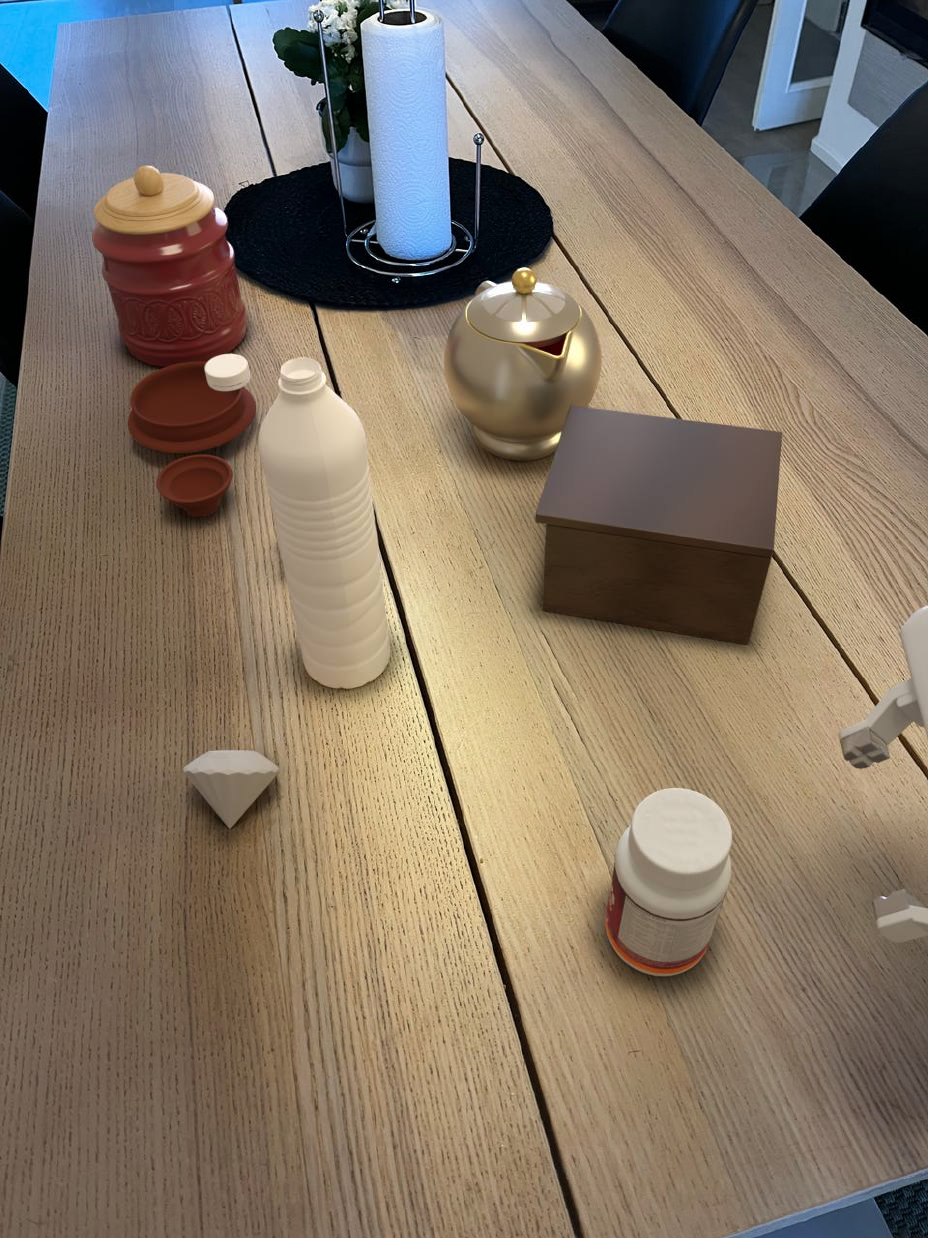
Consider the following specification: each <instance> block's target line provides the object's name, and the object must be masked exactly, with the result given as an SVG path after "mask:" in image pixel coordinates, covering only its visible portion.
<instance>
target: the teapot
mask: <svg viewBox="0 0 928 1238" xmlns="http://www.w3.org/2000/svg"><path fill="white" fill-rule="evenodd" d="M537 279H538V277H537V275H536V273H535V272H534V271H533V270H532V269H530V268H528V267H521V268H517V270H515V271H514V273H513V274H512V276H511V280H509V281H504V282H501V283H495V282H493V281H490V280H485V281H483V282H481V283H480V285H478V287H477V288H476V290H475V292H474V297H473V298H472V299H471V300H470V301H469V302H467V304H466V305H465V306H464V307H463V308H462V310H461V311H460V312H459V314H458V315H457V317H456V319H455V320H454V322H453V323H452V326H451V327H450V330H449V332H448V335H447V339H446V342H445V347H444V348H445V349H444V354H443V370H444V377H445V382H446V386H447V389H448V391H449V395H450V397H451V398H452V401H453V402H454V404H455V406H456V407H457V410H459V412H460V413H461V414H462V415H463V417H464V418H465V419H466V420H467V421H468V422H469V423H470V424H472V432H473V436H474V438H475V440H476V442H477V443H478V444H479V446H480V447H481V448H482V449H483V450H485V451H486V452H488V453H489V454H491V455H493V456H495V457H498V458H500V459H504V460H509V461H515V462H516V461H517V462H518V461H519V462H522V461H523V462H524V461H525V462H526V461H534V460H539V459H543V458H545V457H548V456H549V455H552V454H554V453H555V451H556V448H557V445H558V442H559V439H560V435H561V432H562V429H563V426H564V423H565V420H566V416H567V413H568V410H569V407H570V405H573V406H581V407H589V405H590V403H591V401H592V400H593V398H594V397H595V393H596V391H597V390H598V386H599V381H600V378H601V373H602V366H603V365H602V363H603V361H602V360H603V359H602V356H603V355H602V346H601V341H600V338H599V333H598V331H597V329H596V327H595V324H594V323H593V320H592V318H591V317H590V315H589V314H588V312H587V311H586V310H585V308H584V307H583V306H582V305H581V304H580V303H579V301H578V300H576V299H575V298H574V297H573V296H572V295H570V294H569V293H567V292H566V291H564V290H563V289H561V288H560V287H558V286H556V285H555V286H554V285H553V284H551V283H550V284H549V283H547V282H544V281H539V280H537Z"/></svg>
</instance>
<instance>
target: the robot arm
mask: <svg viewBox="0 0 928 1238" xmlns="http://www.w3.org/2000/svg"><path fill="white" fill-rule="evenodd" d="M899 638H900V641H901V646H902V648H903V652H904V656H905V661H906V664H907V667H908V672H909V675H910V678H908V679H907V680H905V681H901V682H900V683H898V684H895V685H893V686H891V687H890V689H888V691H887V692H886V693H885V694H884V695H883V697H882V698H881V699H880V700H879V701H878V702H877V704H876V705H875V706H874V707H873V708H872V709H871V711H870V712H869V713H868V714H867V716H866V719H863V720H860V721H858V722H856V723H854V724H852V725H849V726H846V727H845V728H842V729H841V730H839V732H838V739H839V743H840V747H841V751H842V756H843V759H844V761H846V762H849V763H850V765H851V767H853V768H854V769H860V770H862V769H867V768H870V767H871V766H872V765H873V764H874V763H876V764H879V763H882V762H885V761H887V760H890V759H891V756H890V751H889V747H888V746H889V745H890V744H891V743H892V742H893V741H894V740H895V739H897V738H898V736H900V735H901V734H902V733H903V732H904V731H905V730H906V729H908V727H909V726H910V725H911V724H913V722H914V723H915V724H916V725H917V726H918V727H920V728H923V727H924V731H925V734H926V737H927V739H928V604H926V605H925V606H922V607H921V608H918V609H917V610H915V611H913V613H912V614H911V615H910V616H909V617H908V619H907V620H906V621H905V623H904V624H903V625H902V627H901V628H900V630H899ZM871 902H872V903H871V904H872V909H873V914H874V918H875V925H876V930H877V933H878V934H879V935H880V936H882V937H883V938H884V939H886V940H887V941H889V942H890V943H897V944H899V943H905V942H909V941H912V940H917V939H920V938H924V937H927V936H928V908H926V907H927V906H926V904H925V903H924V902H923V901H921V900H920V899H919V898H915V896H914V895H913V894H912V893H911V892H910V891H908V890H907V889H906V888H902V889H899V890H896V891H893V892H890V893H889V894H888V896H887V897H886V896H883V895H880V896H878V897H875V898H874V899H872V901H871Z"/></svg>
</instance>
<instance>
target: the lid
mask: <svg viewBox="0 0 928 1238" xmlns="http://www.w3.org/2000/svg"><path fill="white" fill-rule="evenodd" d="M782 441H783V432H782V431H777V430H771V429H762V428H754V427H746V426H738V425H732V424H731V425H730V424H724V423H723V424H722V423H715V422H706V421H699V420H692V419H691V420H690V419H682V418H675V417H667V416H659V415H652V414H643V413H636V412H628V411H620V410H613V409H612V410H611V409H606V408H605V409H604V408H598V407H597V408H596V407H589V406H587V407H581V406H573V405H570V407H569V410H568V413H567V416H566V420H565V423H564V426H563V429H562V432H561V435H560V439H559V442H558V445H557V448H556V451H555V452H554V453H553V454H554V455H553V458H552V461H551V464H550V467H549V470H548V474H547V476H546V480H545V483H544V486H543V489H542V493H541V495H540V498H539V502H538V505H537V507H536V512H535V516H534V517H535V519H534V522H535V523H537V524H543V525H546V524H549V525H555V526H562V527H569V528H575V529H582V530H589V531H595V532H602V533H609V534H615V535H622V536H629V537H636V538H642V539H649V540H656V541H662V542H669V543H676V544H682V545H689V546H696V547H703V548H709V549H716V550H723V551H729V552H736V553H743V554H749V555H756V556H763V557H769V558H771V559H772V557H773V554H774V551H775V539H776V538H775V536H776V523H777V511H778V509H777V508H778V498H779V483H780V469H781V468H780V467H781V456H782V455H781V454H782Z"/></svg>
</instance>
